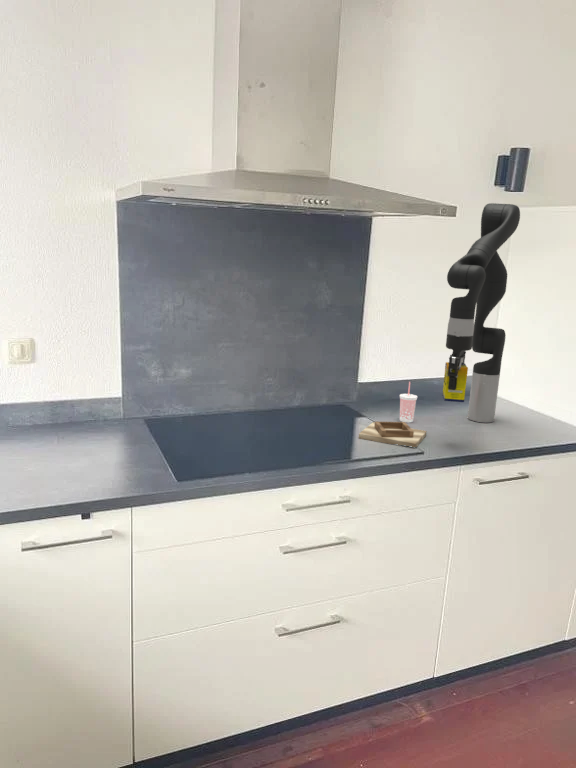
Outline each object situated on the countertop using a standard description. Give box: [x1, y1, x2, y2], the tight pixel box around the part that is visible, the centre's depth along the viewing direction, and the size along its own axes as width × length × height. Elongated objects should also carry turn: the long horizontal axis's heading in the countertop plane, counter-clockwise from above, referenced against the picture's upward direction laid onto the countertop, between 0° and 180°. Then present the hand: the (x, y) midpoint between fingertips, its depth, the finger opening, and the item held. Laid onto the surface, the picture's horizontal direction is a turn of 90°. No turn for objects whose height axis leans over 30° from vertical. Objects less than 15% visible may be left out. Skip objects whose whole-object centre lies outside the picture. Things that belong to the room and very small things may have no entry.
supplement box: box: [441, 361, 469, 403], centre depth 179 cm, size 6×6×11 cm
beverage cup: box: [399, 381, 418, 423], centre depth 206 cm, size 6×6×14 cm
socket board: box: [358, 421, 427, 448], centre depth 188 cm, size 15×18×4 cm
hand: (454, 386), depth 179 cm, fingers closed on supplement box, 7 cm apart
